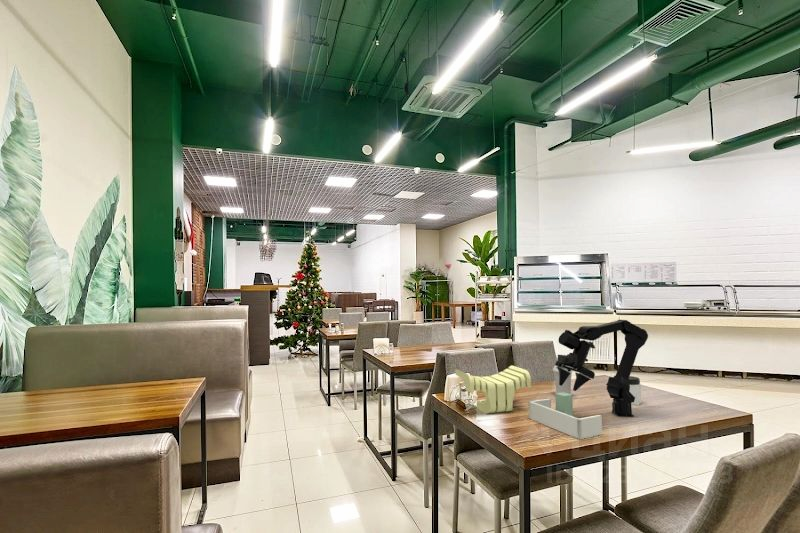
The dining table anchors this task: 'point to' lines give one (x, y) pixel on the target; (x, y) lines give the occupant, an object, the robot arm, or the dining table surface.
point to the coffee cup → (567, 384)
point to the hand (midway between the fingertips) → (567, 387)
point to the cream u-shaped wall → (565, 420)
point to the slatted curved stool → (497, 388)
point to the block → (564, 403)
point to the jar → (635, 389)
